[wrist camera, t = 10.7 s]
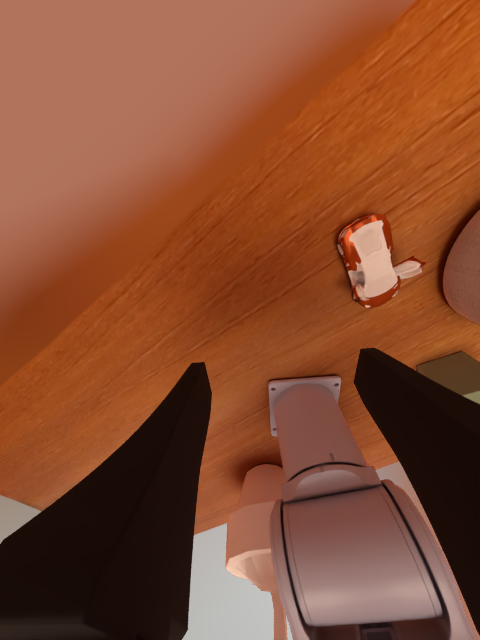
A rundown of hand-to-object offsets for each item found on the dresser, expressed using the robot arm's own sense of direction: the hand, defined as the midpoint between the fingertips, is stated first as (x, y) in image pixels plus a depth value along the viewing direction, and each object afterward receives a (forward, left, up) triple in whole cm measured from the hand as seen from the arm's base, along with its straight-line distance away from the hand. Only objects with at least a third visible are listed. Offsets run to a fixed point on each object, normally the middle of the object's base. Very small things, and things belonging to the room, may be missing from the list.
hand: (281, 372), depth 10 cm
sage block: (-11, -19, -10) cm, 24 cm away
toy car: (+2, -9, -11) cm, 14 cm away
